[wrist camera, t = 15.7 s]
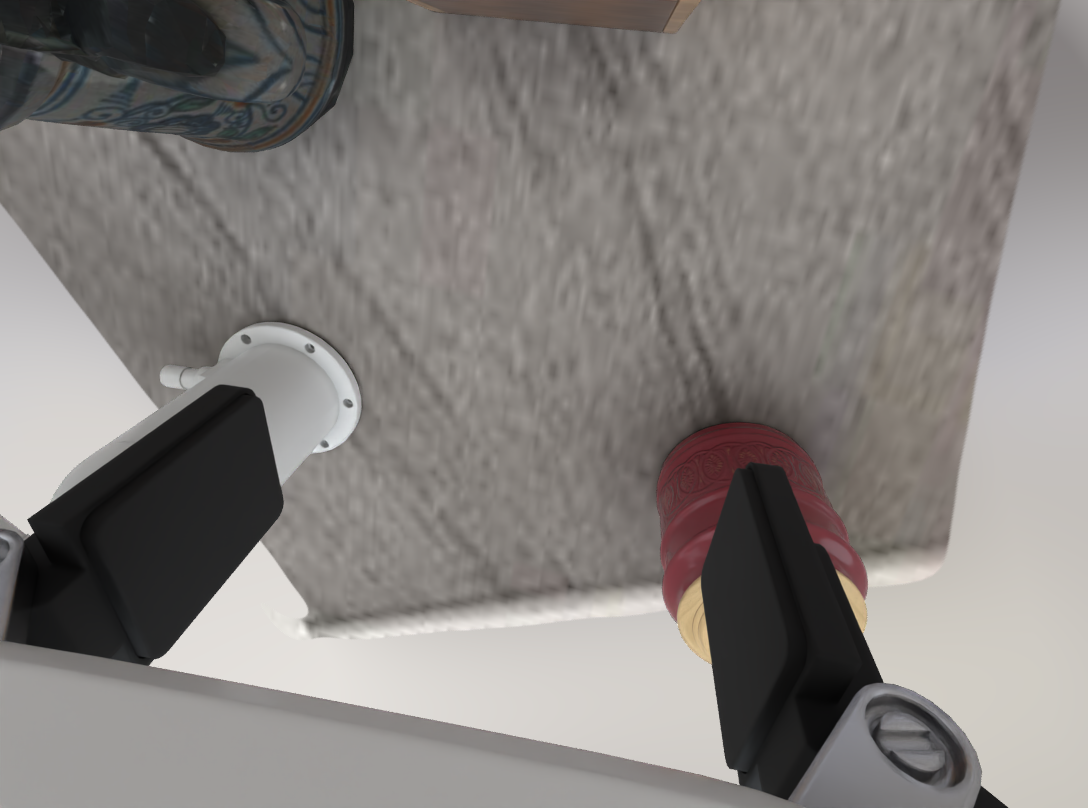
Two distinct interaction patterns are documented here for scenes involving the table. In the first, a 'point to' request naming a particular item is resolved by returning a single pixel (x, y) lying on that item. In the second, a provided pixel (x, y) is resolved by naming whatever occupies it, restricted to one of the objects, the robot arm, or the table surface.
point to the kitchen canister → (696, 503)
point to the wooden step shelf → (577, 11)
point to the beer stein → (176, 66)
